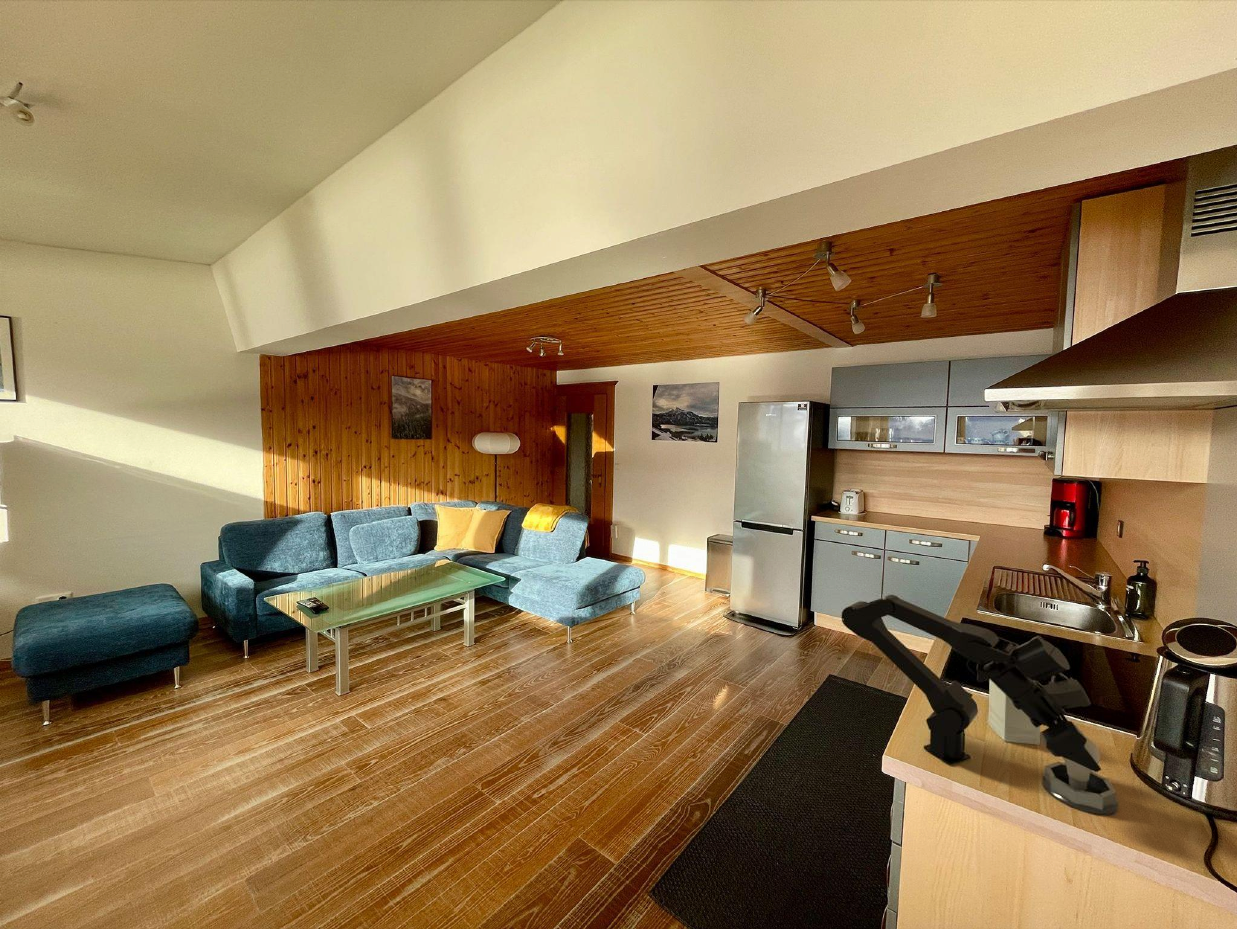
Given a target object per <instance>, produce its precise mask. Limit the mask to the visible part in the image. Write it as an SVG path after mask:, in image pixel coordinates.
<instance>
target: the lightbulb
mask: <svg viewBox="0 0 1237 929" xmlns="http://www.w3.org/2000/svg"><path fill="white" fill-rule="evenodd" d="M1085 737H1086V739H1087V742H1086V744H1085V748H1086V749H1087V751H1088V752H1089V753H1090V754H1091V756H1092V757H1093V758H1094V760H1095V761H1096V762H1097V764H1098V765H1099V763H1100V761H1101V752H1100V749H1099V748H1098V746H1097V745H1096V743H1095V742H1094V741H1092V740H1091V739H1090V738H1089V737H1087V736H1085ZM1061 758H1062V760H1063V761H1064V763H1066V766H1067V773H1068V775H1069V784H1070V786H1071V787H1073V788H1075V789H1078V790H1082V791H1085V790H1086V789H1087V781H1088V780H1089V775H1090V772H1091V771H1093V770H1090V769H1088V768H1086V767H1084V766H1082V765H1080V764H1078V763H1075V762H1073V761H1071V760H1068V759H1066V758H1064V757H1061Z"/></svg>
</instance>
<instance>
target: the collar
mask: <svg viewBox="0 0 1237 929" xmlns="http://www.w3.org/2000/svg"><path fill="white" fill-rule="evenodd" d="M1041 784H1042V787H1043V789H1044V790H1045V791H1046V793H1048V794H1049V795H1050V796H1051V797H1052V798H1054V799H1055V800H1057V801H1058V802H1060V803H1062V804H1064V805H1065V806H1068V807H1070V808H1073V809H1075V810H1077V811H1080V812H1083V813H1085V814H1086V813H1087V814H1090V815H1096V816H1112V815H1115V814H1116V813H1117V812H1119V802H1118V800H1117V793H1118V792H1117V791H1116V789H1115V788H1114V786H1113V784H1111V782H1110V781H1109V779H1108V778H1106V777H1104V776H1102V775H1101V774H1098V773H1097V772H1095V771H1093V770H1092V771H1091V772H1090V775H1089V780H1088V781H1087V789H1086V790H1085V791H1082V790H1078V789H1075V788H1073V787H1071V786H1070V784H1069V775H1068V773H1067V766H1066V763H1065V762H1062V761H1056V762H1053V763H1050V764H1047V765H1044V775H1043V776H1042V778H1041Z"/></svg>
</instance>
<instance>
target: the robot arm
mask: <svg viewBox="0 0 1237 929" xmlns="http://www.w3.org/2000/svg"><path fill="white" fill-rule="evenodd" d="M887 616H889V617H892V618H894V619H897V620H898V621H900V622H903V623H904V624H907V625H909V626H911V627H914V628H916V629H918V630H920V631H922V632H925V633H927V634H929V635H932V636H934V637H935V638H938V639H940V640H942V641H943V642H945V643H946V644H948V645H949V647H950V648H952V649H953V650H954V652H957V653H958V654H960V655H961V656H963V657H964V658H966V659H968V660H969V661H971V662H972V663H975V664H976V672H977V677H976V681H977V682H978V683H982V682H985V681H987V680H989V681H990V680H991V681H992V682H993V683H994V684H995V685H996V686H997V687H998V688H999V689H1000V690H1001V691H1002V692H1003V693H1004V694H1005V695H1006V696H1007V697H1008V698H1009V699H1010V700H1011V701H1012V703H1013V705H1014V706H1015V707H1016V708H1017V709H1018V710H1019V709H1020V710H1021V711H1023V712H1024V713H1025V714H1026V715H1027V716H1028V717H1029V718H1030V721H1031V723H1032V724H1033V725H1034V726H1035V727H1036V728H1037V727H1039V726H1040V727H1041V726H1042V725H1043V727H1047V728H1046V729H1044V730H1042V731H1040V740H1041V741H1042V743H1043V745H1044V746H1045V748H1046V750H1048V751H1049V752H1050V753H1051V754H1052V755H1053V757H1055V758H1062V757H1064V758H1066V759H1068V760H1071V761H1073V762H1075V763H1078V764H1080V765H1082V766H1084V767H1086V768H1088V769H1090V770H1092V771H1093V772H1094V773H1098V772H1100V771H1102V768H1101V767H1100V765H1099V763H1098V764H1097V762H1096V761H1095V760H1094V758H1093V757H1092V756H1091V754H1090V753H1089V752H1088V751H1087V749H1086V748H1085V744H1086V742H1087V739H1086V737H1087V736H1085V734H1084V733H1083V731H1082V730H1080V729H1079V727H1078V726H1077V725H1076V724H1075V723H1074V722H1073V721H1071V720H1068V718H1067V717H1066V714H1067V712H1066V711H1065V709H1072V708H1077V707H1084V708H1085V707H1089V706H1090V705H1091V704H1092V703H1091V701H1090V698H1089V697H1088V695H1087V693H1086V691H1085V690H1084V688H1083V686H1082V685H1081V683H1080V682H1079V681H1078V680H1077V679H1073V677H1069V678H1068V677H1067V676H1066V675H1064V674H1063V672H1066V671H1068V670H1070V668H1071V667H1070V664H1069V661H1068V660H1067V658H1066V656H1065V655H1064V653H1062V651H1061V650H1060V649H1059V648H1058V647H1056V646H1054V645H1053V644H1051V642H1049V641H1047V640H1045V639H1044V638H1043V637H1041V635H1037V636H1035V637H1033V638H1031V639H1030V640H1029V641H1027V642H1024V643H1022V644H1021V645H1020V644H1019V643H1015V642H1013V641H1010V640H1007V639H1006V638H1003V637H999V636H997V634H996V633H995V632H994V631H992V630H990V629H988V628H984V627H981V626H977V625H974V624H969V623H962V622H956V621H952V620H950V619H949V618H946V617H943V616H941V615H938V614H937V613H934V612H932V611H930V610H927V609H924V608H922V607H920V606H918V605H915V604H913V603H911V602H910V601H906V600H904V599H901V598H900V597H898V596H897V595H894V594H887V595H885V596H884V597H882V598H878V599H875V600H872V601H869V602H868V601H857V602H855V603H852V604H851V605H849V606H846V607H845V608H843V610H842V612H841V623H842V624H843V625H844V627H846V629H848V630H850V631H851V632H852V633H853V634H855V635H856V636H857V637H859V638H861V639H864V640H866V641H868V642H871V643H872V644H873V645H874V646H875V647H876V648H877V649H878V650H879V651H880V652H881V653H882V654H883V655H884V656H885V657H886V658H887V659H889V660H890V662H892V664H893V665H895V667H896V668H897V669H899V670H900V671H901V672H902V674H904V676H906V677H907V678H908V679H909V680H910V682H912V683H913V684H914V685H915V686H916V687H917V688H918V689H919V690H920V691H921V692H922V693H923V694H924V696H925V697H926V699H927V701H928V703H929V706H930V708H931V709H932V711H933V712H932V713H931V714H930V715H929V716H928V717H927V718H926V720H925V722H926V724H927V725H926V726H927V727H928V730H929V731H930V733H929V734H930V735H929V744H926V745H925V744H924V745H923V749H924V750H925V751H927V752H928V753H930V754H932V755H933V756H935V758H938V759H940V760H941V761H942V762H944V763H946V764H947V765H949V766H952V765H955V764H960V763H962V762H965V761H968V760H971V759H972V756H971V755H970V754H968V753H967V752H965V750H966V749H965V748H966V744H965V743H966V732H965V730H966V729H967V728H968V727H969V726H970V725H971V723H972V722H973V720H974V719H975V718H977V716H978V713H979V709H978V704H977V702H976V701H975V699H973V696H974V694H972V693H970V692H968V691H967V690H966V689H965V688H964V687H963V686H962V685H961V684H960V682H959V681H957V680H954V681H952V682H951V683H950V682H948V681H945V680H943V679H942V678H940V676H938V675H937V674H935V673H934V671H933V670H931V669H930V668H929V666H927V665H926V664H925V663H924V661H921V659H919V657H917V656H916V655H915V653H914V652H912V651H911V650H910V649H909V648H908V647H907V645H906V646H905V644H903V642H901V641H900V640H899V639H898V638H897V637H896V636H895V635H894V634H893V633H892V632H891V631H890V630H889V629H888V627H887V626H886V624H885V621H884V620H883V618H884V617H887ZM1049 678H1051V680H1050V681H1048V684H1043V685H1042V684H1041V683H1040V682H1042V681H1044V680H1046V679H1049Z"/></svg>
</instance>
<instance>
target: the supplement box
mask: <svg viewBox="0 0 1237 929" xmlns="http://www.w3.org/2000/svg"><path fill="white" fill-rule="evenodd" d="M988 682H989V689H988V691H989V692H988V694H989V696H988V726H989V727H991V729H992V730H993V731H994V732H995V733H996V734H997V735H998V736H999V737H1000V738H1001V740H1002V741H1003V742H1007V743H1017V744H1028V745H1040V744H1041V743H1040V742H1041V741H1040V740H1041V726H1039V727H1037V728H1036V727H1035V726H1034V725H1033V724H1032V723H1031V721H1030V718H1029V717H1028V716H1027V715H1026V714H1025V713H1024V712H1023V711H1021V710H1020V709H1019V710H1018V709H1017V708H1016V707H1015V706H1014V705H1013V703H1012V701H1011V700H1010V699H1009V698H1008V697H1007V696H1006V695H1005V694H1004V693H1003V692H1002V691H1001V690H1000V689H999V688H998V687H997V686H996V685H995V684H994V683H993V682H992V681H991V680H990V679H989V680H988Z"/></svg>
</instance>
